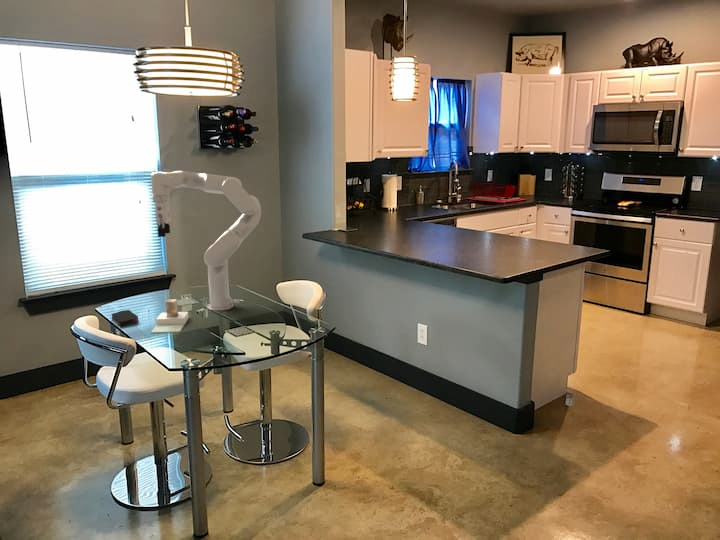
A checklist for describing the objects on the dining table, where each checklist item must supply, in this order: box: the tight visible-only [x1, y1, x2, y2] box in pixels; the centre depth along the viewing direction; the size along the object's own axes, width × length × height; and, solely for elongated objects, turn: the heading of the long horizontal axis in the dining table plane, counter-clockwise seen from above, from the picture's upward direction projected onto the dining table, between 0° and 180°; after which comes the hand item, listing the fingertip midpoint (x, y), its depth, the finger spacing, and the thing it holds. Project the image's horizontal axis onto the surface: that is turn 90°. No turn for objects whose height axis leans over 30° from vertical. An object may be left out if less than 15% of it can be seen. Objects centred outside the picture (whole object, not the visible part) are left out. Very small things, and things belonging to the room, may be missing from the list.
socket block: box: [155, 311, 190, 326], centre depth 260 cm, size 12×10×4 cm
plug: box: [165, 298, 179, 317], centre depth 259 cm, size 4×4×10 cm
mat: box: [150, 324, 185, 334], centre depth 250 cm, size 12×9×1 cm
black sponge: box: [111, 309, 139, 328], centre depth 262 cm, size 16×8×4 cm, turn 38°
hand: (164, 234), depth 273 cm, fingers open, 9 cm apart
